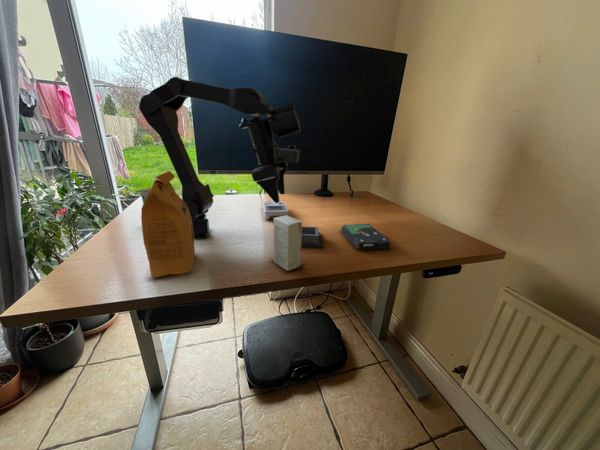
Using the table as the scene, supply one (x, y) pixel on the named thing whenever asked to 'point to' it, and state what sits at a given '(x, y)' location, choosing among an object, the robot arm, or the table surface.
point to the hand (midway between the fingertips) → (280, 198)
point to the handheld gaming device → (274, 209)
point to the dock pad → (310, 237)
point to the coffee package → (167, 229)
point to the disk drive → (365, 237)
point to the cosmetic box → (287, 242)
